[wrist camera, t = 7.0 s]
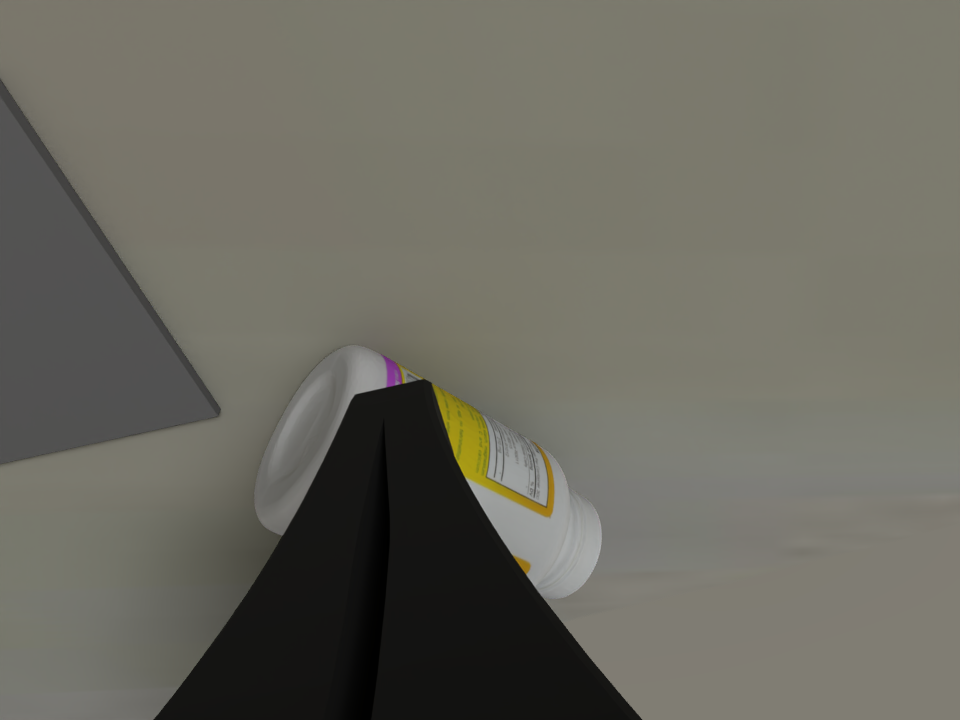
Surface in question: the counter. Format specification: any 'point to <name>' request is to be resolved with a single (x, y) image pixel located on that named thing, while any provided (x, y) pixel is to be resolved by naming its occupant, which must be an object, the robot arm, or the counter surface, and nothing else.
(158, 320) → the mat
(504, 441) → the supplement bottle
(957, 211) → the counter surface
